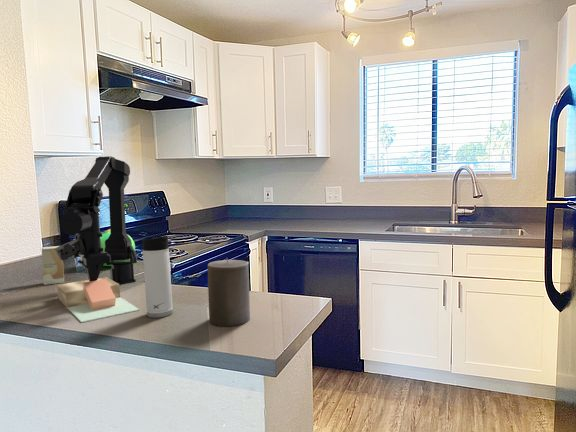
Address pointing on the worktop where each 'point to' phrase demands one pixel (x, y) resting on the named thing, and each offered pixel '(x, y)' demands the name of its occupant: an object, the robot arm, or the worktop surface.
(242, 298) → the pillar candle
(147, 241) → the travel mug
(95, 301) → the salmon pink block
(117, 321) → the worktop surface
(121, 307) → the mat
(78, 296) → the tan block
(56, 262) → the skincare box
